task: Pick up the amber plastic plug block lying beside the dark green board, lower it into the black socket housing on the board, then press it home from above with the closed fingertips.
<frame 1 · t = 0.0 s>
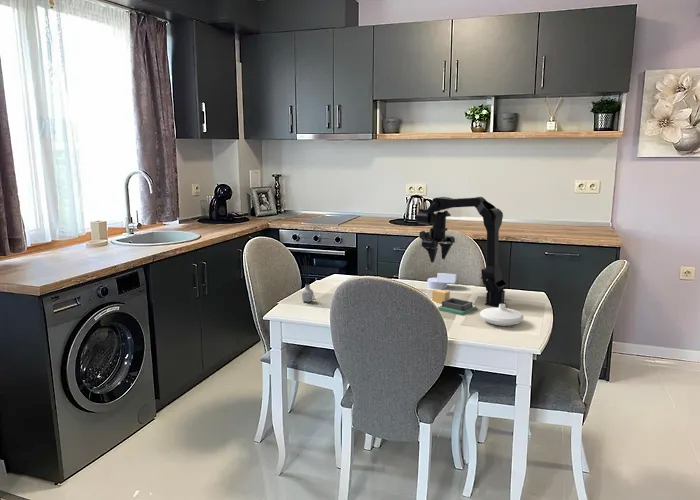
hand: (437, 260, 245), 15 cm above the table, tool pointing down, fingers open, 9 cm apart
reed diffuser: (306, 301, 234), on the table
socket board: (456, 309, 223), on the table
wedge on round base: (441, 287, 258), on the table
vase: (501, 323, 207), on the table
plug: (440, 302, 233), on the table
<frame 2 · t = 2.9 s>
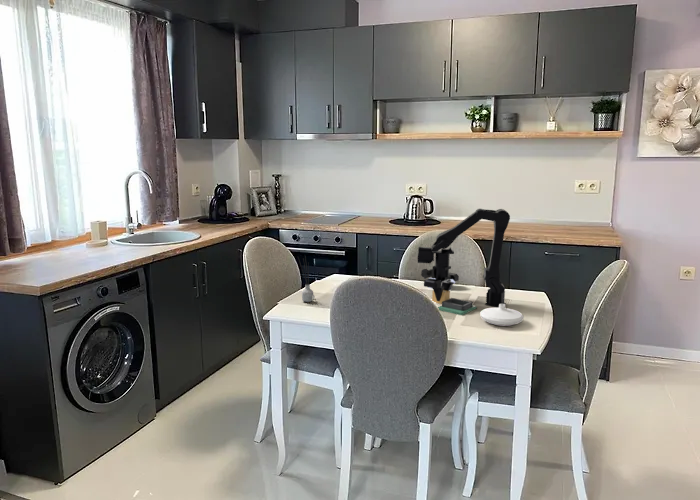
hand: (440, 299, 233), 1 cm above the table, tool pointing down, fingers closed on plug, 4 cm apart
plug: (440, 302, 233), on the table, touching gripper
everything else where it was.
when the fingers open (4 cm above the table, at t = 6.9 s): plug drops 2 cm, resting on socket board.
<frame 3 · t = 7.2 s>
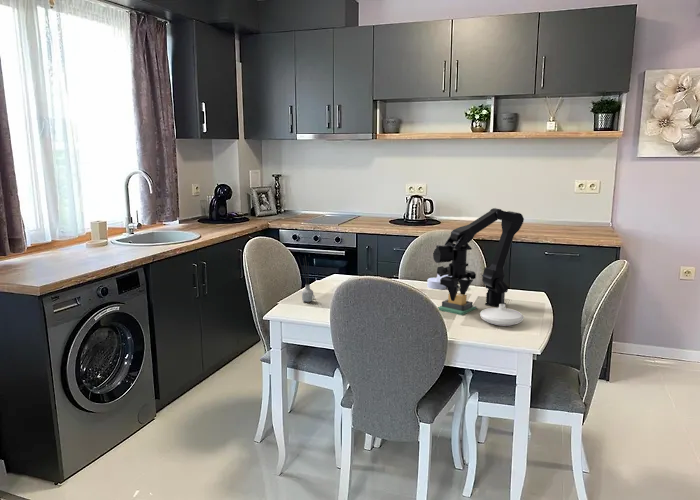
hand: (457, 298, 223), 4 cm above the table, tool pointing down, fingers open, 7 cm apart
plug: (457, 306, 223), point 1 cm above the table, touching socket board
everything else where it was.
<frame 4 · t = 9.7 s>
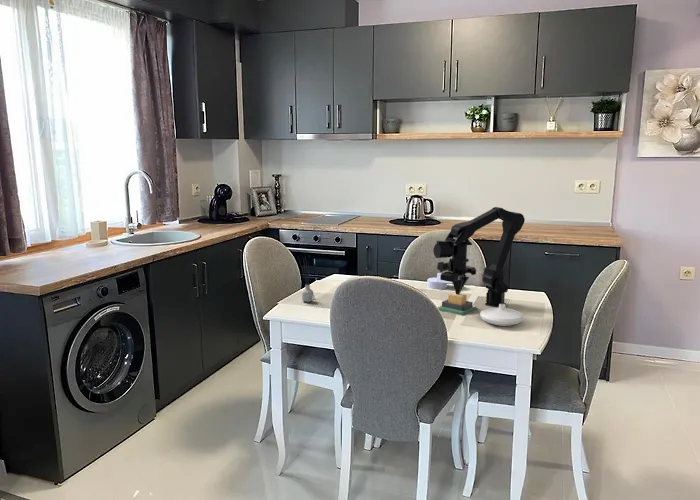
hand: (457, 294, 222), 6 cm above the table, tool pointing down, fingers closed, pressing on plug
plug: (457, 306, 223), point 1 cm above the table, touching gripper, socket board
everything else where it was.
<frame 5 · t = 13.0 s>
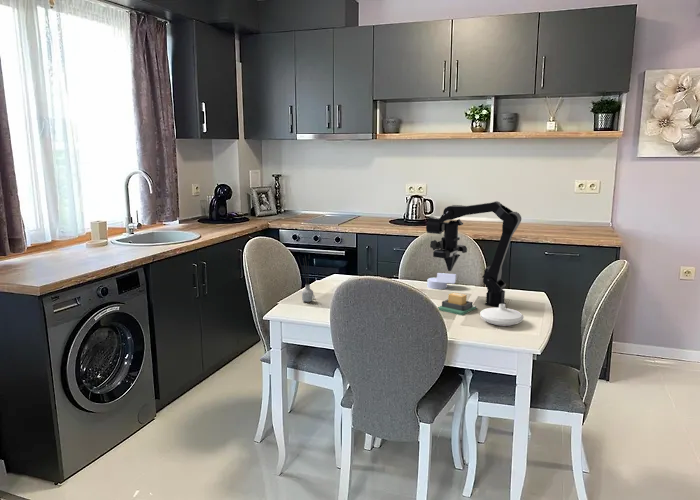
hand: (449, 270, 237), 12 cm above the table, tool pointing down, fingers closed
plug: (457, 306, 223), point 1 cm above the table, touching socket board
everything else where it was.
at the end: plug 0.0 cm off-centre on the socket board, point 1.0 cm above the socket board's base; plug tilted 0°; the gripper is holding nothing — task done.
